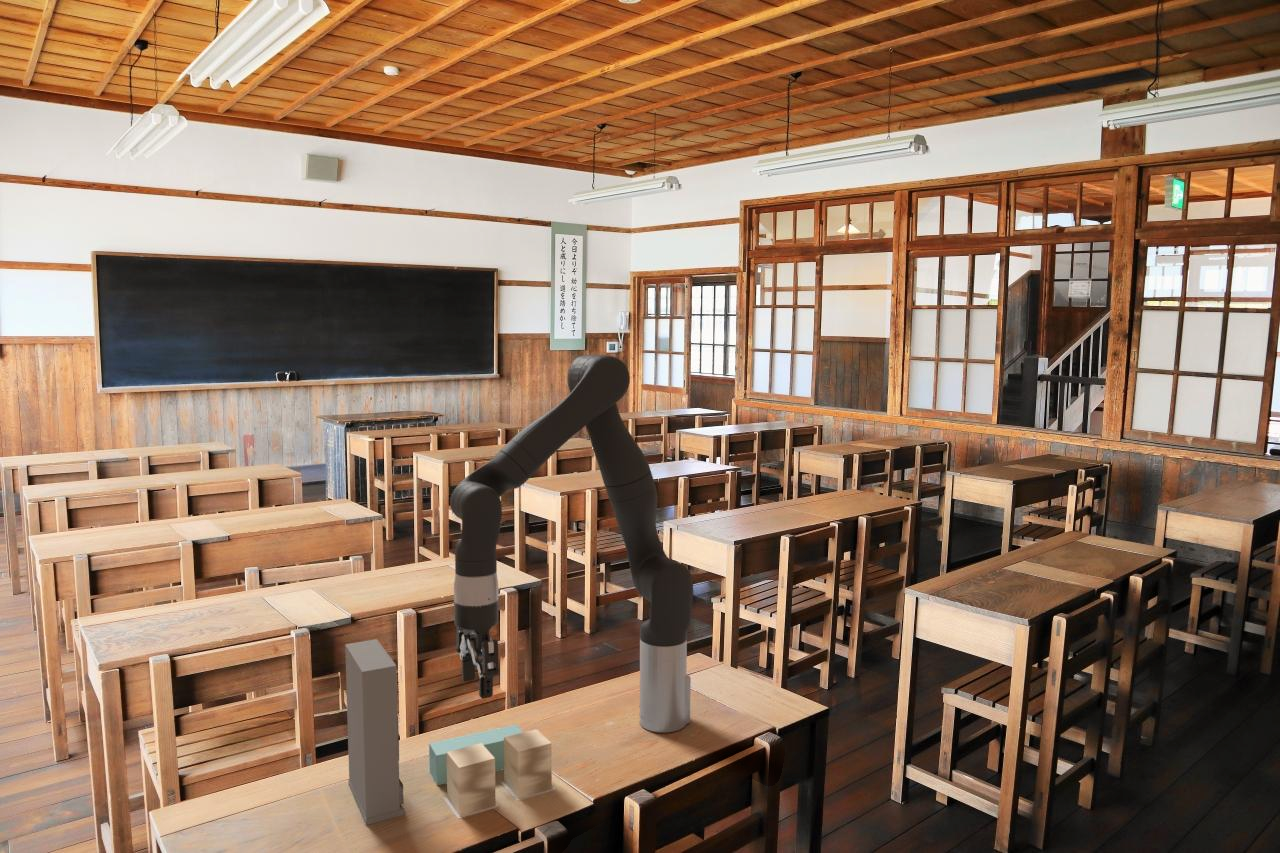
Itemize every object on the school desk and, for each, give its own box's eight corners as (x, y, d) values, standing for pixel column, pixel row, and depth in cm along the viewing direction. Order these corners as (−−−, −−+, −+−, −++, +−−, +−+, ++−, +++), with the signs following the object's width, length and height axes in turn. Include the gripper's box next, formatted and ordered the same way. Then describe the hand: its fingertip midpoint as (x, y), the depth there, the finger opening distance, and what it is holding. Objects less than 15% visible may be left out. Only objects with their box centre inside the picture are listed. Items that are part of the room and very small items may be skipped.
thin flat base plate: (542, 768, 149) (542, 765, 149) (567, 793, 140) (567, 790, 140) (431, 799, 138) (431, 796, 138) (451, 829, 130) (451, 826, 130)
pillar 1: (482, 788, 141) (481, 743, 140) (495, 805, 136) (494, 758, 135) (447, 798, 138) (446, 751, 137) (459, 816, 132) (458, 767, 132)
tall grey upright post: (405, 817, 133) (402, 665, 131) (365, 828, 130) (361, 672, 128) (385, 778, 145) (381, 637, 143) (348, 787, 142) (344, 644, 140)
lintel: (517, 755, 154) (516, 724, 153) (526, 767, 149) (526, 735, 149) (429, 776, 146) (429, 743, 146) (437, 789, 142) (436, 755, 141)
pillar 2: (536, 773, 146) (536, 729, 145) (551, 788, 141) (551, 743, 140) (504, 782, 143) (503, 737, 142) (518, 798, 138) (518, 752, 137)
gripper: (512, 605, 141) (513, 698, 142) (482, 584, 153) (482, 670, 154) (469, 612, 137) (470, 708, 138) (441, 590, 149) (442, 678, 150)
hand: (477, 688), depth 146 cm, fingers open, 8 cm apart
